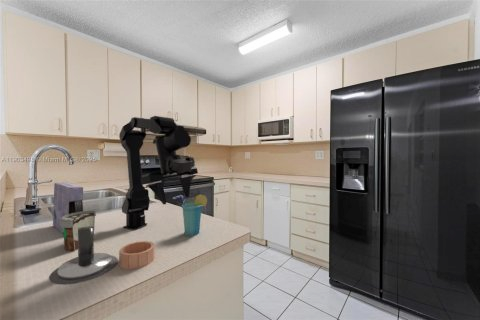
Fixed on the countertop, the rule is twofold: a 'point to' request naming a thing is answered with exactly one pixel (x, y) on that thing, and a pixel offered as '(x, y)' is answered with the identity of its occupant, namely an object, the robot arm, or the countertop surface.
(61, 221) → the food container
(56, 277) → the rubber mat
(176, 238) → the countertop surface
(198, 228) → the cup
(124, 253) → the terracotta bowl
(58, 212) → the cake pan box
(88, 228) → the steel lid
